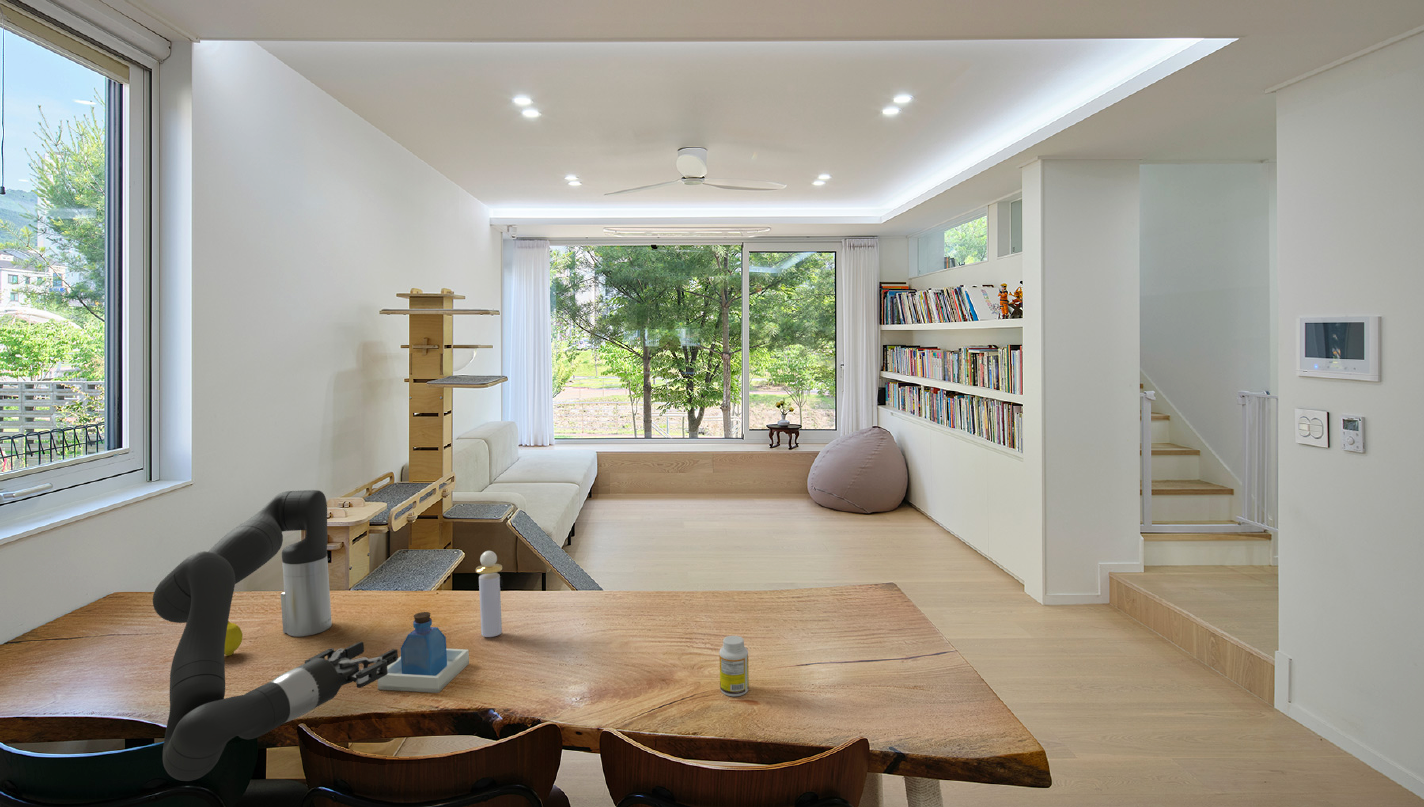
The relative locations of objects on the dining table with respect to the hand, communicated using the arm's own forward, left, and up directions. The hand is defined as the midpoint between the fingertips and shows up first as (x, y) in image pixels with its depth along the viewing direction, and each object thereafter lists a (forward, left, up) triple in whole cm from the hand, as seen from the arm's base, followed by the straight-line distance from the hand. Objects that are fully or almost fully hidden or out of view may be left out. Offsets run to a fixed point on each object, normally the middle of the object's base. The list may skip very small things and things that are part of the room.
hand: (379, 650), depth 134 cm
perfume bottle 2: (+8, +30, -10) cm, 33 cm away
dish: (+3, +10, -10) cm, 15 cm away
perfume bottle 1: (+3, +10, -9) cm, 14 cm away
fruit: (-45, +14, -10) cm, 48 cm away
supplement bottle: (+66, +11, -10) cm, 68 cm away
